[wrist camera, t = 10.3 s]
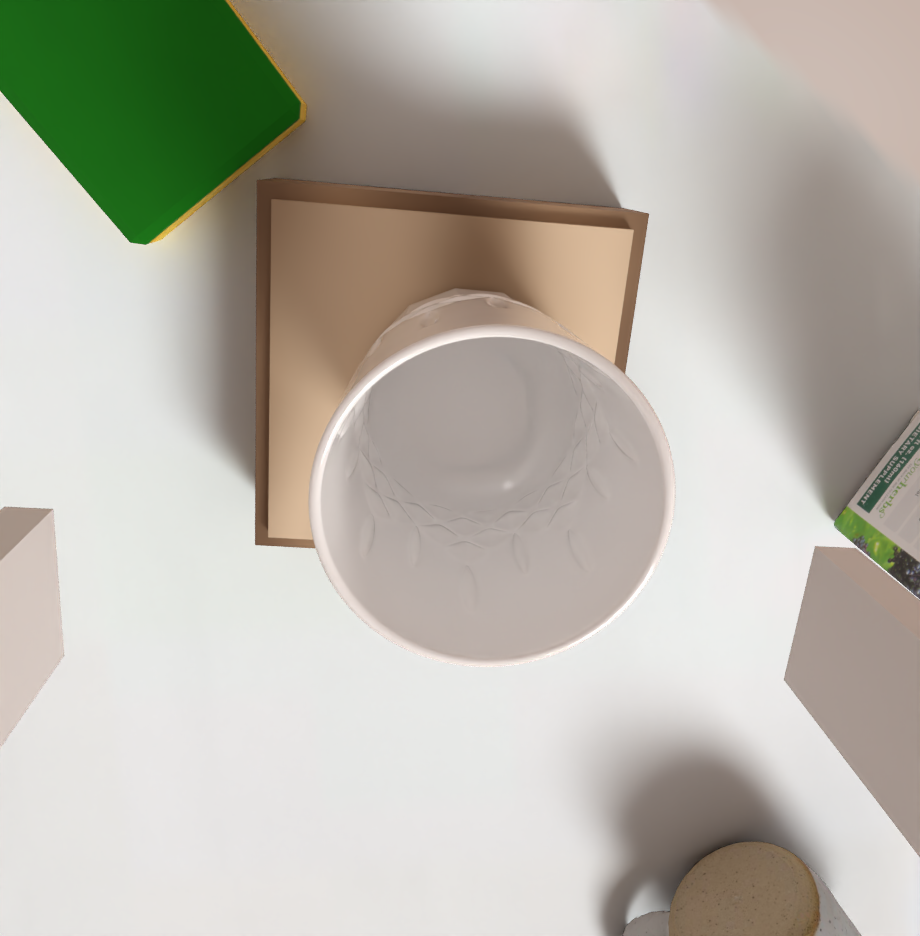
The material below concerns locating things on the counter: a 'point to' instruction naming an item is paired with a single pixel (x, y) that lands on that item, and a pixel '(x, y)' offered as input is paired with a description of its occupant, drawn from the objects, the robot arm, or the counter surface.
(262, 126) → the dish sponge
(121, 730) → the counter surface
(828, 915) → the ceramic mug
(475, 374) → the white cup
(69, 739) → the counter surface
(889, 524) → the syrup box
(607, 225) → the walnut plinth
